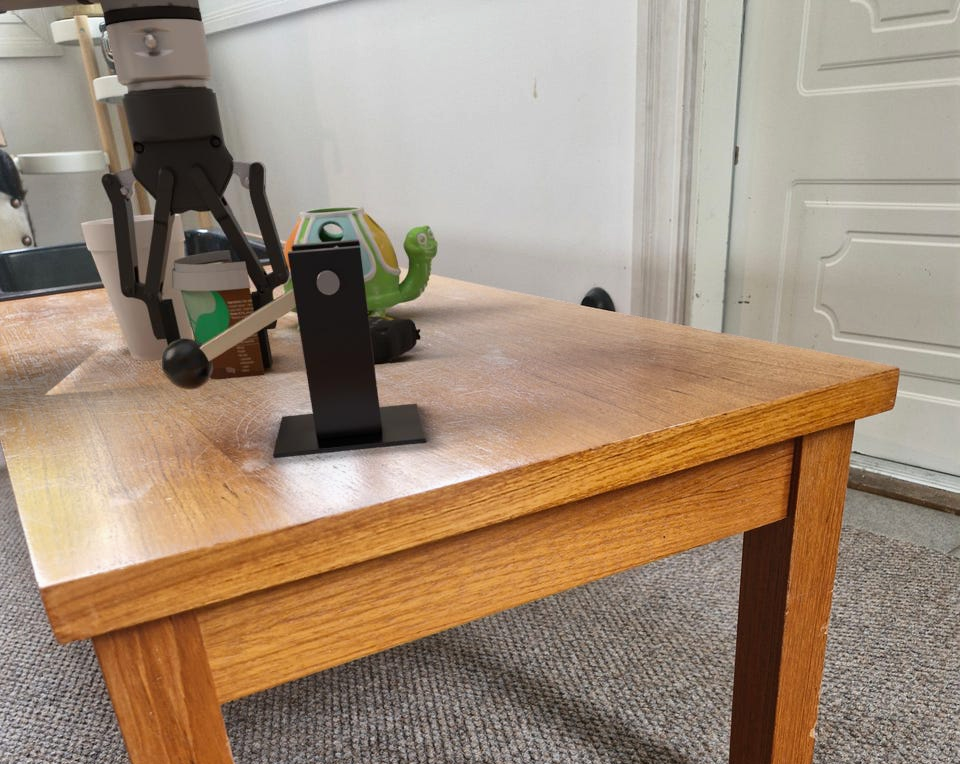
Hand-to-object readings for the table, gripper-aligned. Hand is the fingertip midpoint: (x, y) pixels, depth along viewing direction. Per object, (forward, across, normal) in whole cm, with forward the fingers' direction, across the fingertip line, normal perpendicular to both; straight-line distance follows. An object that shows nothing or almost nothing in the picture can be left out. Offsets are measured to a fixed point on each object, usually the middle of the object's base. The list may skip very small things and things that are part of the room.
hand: (224, 369), depth 85 cm
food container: (0, 0, 0) cm, 0 cm away
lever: (-7, +8, -27) cm, 29 cm away
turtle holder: (0, +13, +21) cm, 25 cm away
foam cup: (0, -8, +12) cm, 14 cm away
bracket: (0, +12, -27) cm, 30 cm away
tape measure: (+1, +15, -2) cm, 15 cm away
